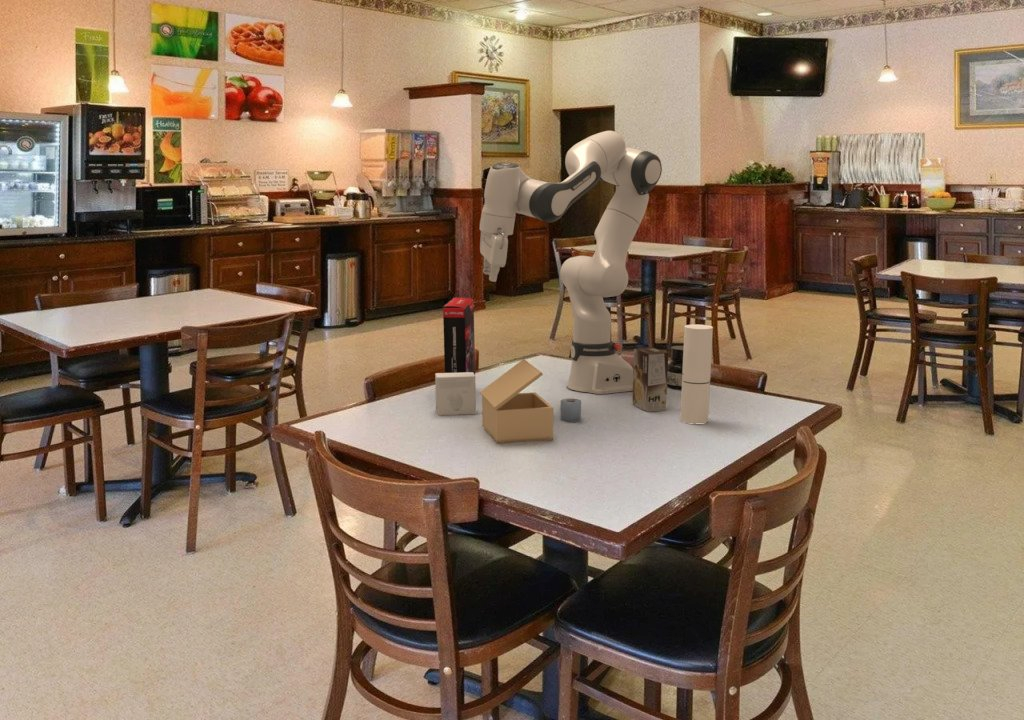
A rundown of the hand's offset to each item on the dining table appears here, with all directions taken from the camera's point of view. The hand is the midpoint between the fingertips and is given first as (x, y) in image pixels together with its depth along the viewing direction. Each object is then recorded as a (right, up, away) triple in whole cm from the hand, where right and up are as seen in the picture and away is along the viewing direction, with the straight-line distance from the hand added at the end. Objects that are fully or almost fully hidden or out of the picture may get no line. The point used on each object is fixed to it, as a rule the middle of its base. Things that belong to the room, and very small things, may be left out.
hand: (489, 277), depth 247 cm
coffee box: (+44, -35, +11) cm, 57 cm away
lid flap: (+6, -28, -17) cm, 33 cm away
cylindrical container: (+54, -38, -3) cm, 66 cm away
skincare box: (-9, -36, +5) cm, 38 cm away
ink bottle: (+57, -30, +36) cm, 74 cm away
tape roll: (+21, -37, -2) cm, 43 cm away
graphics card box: (-9, -32, +24) cm, 41 cm away
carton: (+7, -40, -14) cm, 43 cm away
